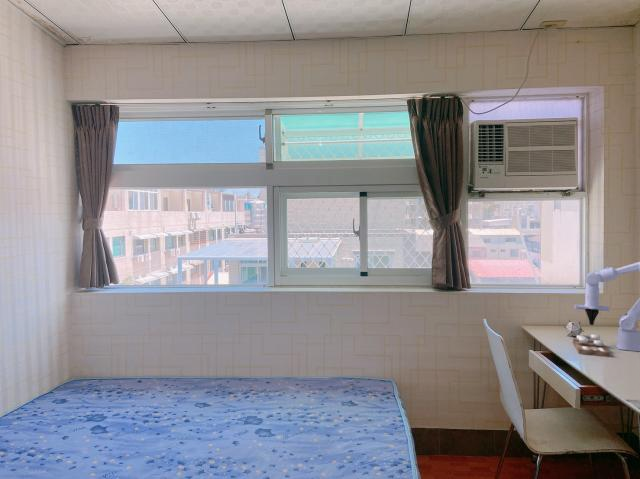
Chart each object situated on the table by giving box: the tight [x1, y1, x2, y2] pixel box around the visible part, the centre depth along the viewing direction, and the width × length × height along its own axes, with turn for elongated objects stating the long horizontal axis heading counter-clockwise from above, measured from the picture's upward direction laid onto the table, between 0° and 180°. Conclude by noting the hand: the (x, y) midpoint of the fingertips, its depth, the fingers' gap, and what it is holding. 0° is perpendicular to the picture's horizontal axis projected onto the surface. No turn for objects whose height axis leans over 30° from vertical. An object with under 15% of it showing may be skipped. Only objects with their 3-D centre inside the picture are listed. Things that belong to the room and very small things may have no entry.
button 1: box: [579, 336, 589, 343], centre depth 206 cm, size 4×4×2 cm
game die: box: [563, 320, 585, 337], centre depth 227 cm, size 9×8×10 cm
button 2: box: [590, 333, 601, 341], centre depth 210 cm, size 4×4×2 cm
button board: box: [572, 338, 611, 358], centre depth 206 cm, size 12×19×2 cm, turn 157°
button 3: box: [594, 340, 604, 346], centre depth 204 cm, size 4×4×2 cm
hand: (591, 324), depth 215 cm, fingers closed
